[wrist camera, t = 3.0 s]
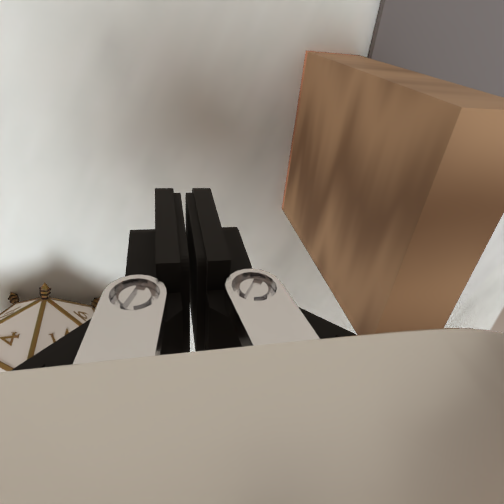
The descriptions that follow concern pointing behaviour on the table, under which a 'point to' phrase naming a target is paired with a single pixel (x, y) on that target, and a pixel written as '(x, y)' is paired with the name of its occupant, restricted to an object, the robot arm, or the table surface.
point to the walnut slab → (393, 187)
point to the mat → (444, 40)
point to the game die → (37, 325)
